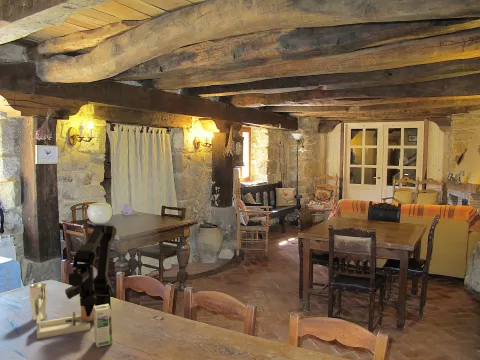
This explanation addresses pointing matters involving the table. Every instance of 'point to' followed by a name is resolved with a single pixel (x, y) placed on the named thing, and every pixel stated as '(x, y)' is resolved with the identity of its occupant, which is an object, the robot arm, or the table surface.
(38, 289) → the beer glass
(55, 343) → the table surface
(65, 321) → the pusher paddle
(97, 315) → the syrup box
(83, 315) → the terracotta jar
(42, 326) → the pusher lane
